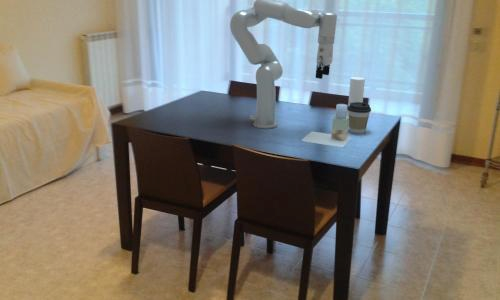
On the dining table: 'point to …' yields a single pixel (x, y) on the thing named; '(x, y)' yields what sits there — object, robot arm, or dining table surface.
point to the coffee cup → (358, 116)
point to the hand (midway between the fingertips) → (322, 76)
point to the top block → (340, 123)
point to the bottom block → (339, 134)
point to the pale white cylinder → (341, 111)
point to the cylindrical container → (356, 91)
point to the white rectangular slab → (324, 139)
